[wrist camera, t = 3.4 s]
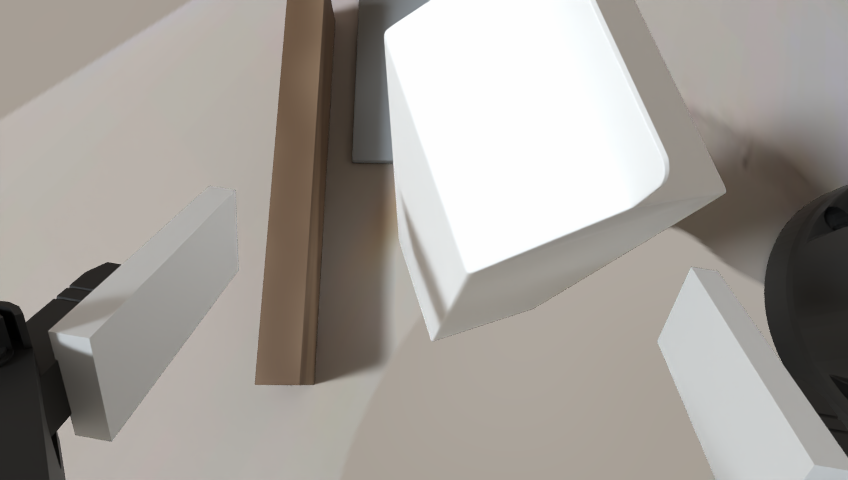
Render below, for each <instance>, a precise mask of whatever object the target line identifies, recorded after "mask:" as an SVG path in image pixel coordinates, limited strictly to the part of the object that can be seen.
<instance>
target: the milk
mask: <svg viewBox="0 0 848 480" xmlns="http://www.w3.org/2000/svg"><path fill="white" fill-rule="evenodd" d="M384 44H385V57H386V71H387V84H388V98H389V111H390V125H391V138H392V152H393V165H394V179H395V192H396V206H397V219H398V233H399V242H400V245H401V248H402V251H403V255H404V258H405V261H406V264H407V267H408V270H409V273H410V276H411V280H412V283H413V286H414V289H415V292H416V295H417V298H418V301H419V304H420V308H421V311H422V314H423V317H424V320H425V323H426V326H427V329H428V332H429V335H430V339H431V341H436V340H439V339H442V338H445V337H448V336H451V335H454V334H458V333H460V332H464V331H466V330H470V329H473V328H476V327H479V326H482V325H485V324H488V323H491V322H494V321H497V320H500V319H503V318H507V317H510V316H513V315H515V314H519V313H522V312H525V311H528V310H531V309H534V308H535V307H537V306H539V305H540V304H542V303H544V302H545V301H547V300H549V299H550V298H552V297H554V296H555V295H557V294H559V293H560V292H562V291H564V290H565V289H567V288H569V287H570V286H572V285H574V284H575V283H577V282H579V281H580V280H582V279H584V278H585V277H587V276H589V275H590V274H592V273H594V272H595V271H597V270H599V269H600V268H602V267H604V266H605V265H607V264H609V263H610V262H612V261H614V260H615V259H617V258H619V257H620V256H622V255H624V254H625V253H627V252H629V251H630V250H632V249H634V248H636V247H637V246H639V245H640V244H642V243H644V242H646V241H647V240H649V239H650V238H652V237H654V236H656V235H657V234H659V233H661V232H662V231H664V230H666V229H667V228H669V227H671V226H672V225H674V224H676V223H677V222H679V221H681V220H682V219H684V218H686V217H687V216H689V215H691V214H692V213H694V212H696V211H697V210H699V209H701V208H702V207H704V206H706V205H707V204H709V203H711V202H712V201H714V200H716V199H717V198H719V197H721V196H722V195H724V194H725V193H726V188H725V186H724V183H723V181H722V179H721V177H720V175H719V173H718V171H717V169H716V167H715V165H714V163H713V161H712V159H711V157H710V155H709V152H708V150H707V148H706V146H705V144H704V142H703V140H702V138H701V136H700V134H699V132H698V130H697V128H696V126H695V124H694V122H693V120H692V117H691V115H690V113H689V111H688V109H687V107H686V105H685V103H684V101H683V99H682V97H681V95H680V93H679V91H678V89H677V87H676V84H675V82H674V80H673V78H672V76H671V74H670V72H669V70H668V68H667V66H666V64H665V62H664V60H663V58H662V56H661V54H660V52H659V49H658V47H657V45H656V43H655V41H654V39H653V37H652V35H651V33H650V31H649V29H648V27H647V25H646V23H645V21H644V19H643V16H642V14H641V12H640V10H639V8H638V6H637V4H636V2H635V0H430V1H428V2H427V3H425V4H424V5H422V6H421V7H419V8H418V9H416V10H415V11H413V12H412V13H410V14H409V15H407V16H406V17H404V18H403V19H401V20H400V21H398V22H397V23H395V24H394V25H392V26H391V27H390V28H388V29H387V30H386V31H385V34H384Z"/></svg>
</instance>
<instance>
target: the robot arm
mask: <svg viewBox="0 0 848 480" xmlns="http://www.w3.org/2000/svg"><path fill="white" fill-rule="evenodd" d="M238 270H239V265H238V239H237V213H236V190H233V189H227V188H221V187H215V186H208V187H207V188H206V189H205V190H204V191H203V192H202V193H201V194H200V195H198V196H197V197H196V198H195V199H194V200H193V201H192V202H191V203H190V204H188V205H187V206H186V207H185V208H184V209H183V210H182V211H181V212H180V213H178V214H177V215H176V216H175V217H174V218H173V219H172V220H171V221H170V222H168V223H167V224H166V225H165V226H164V227H163V228H162V229H161V230H160V231H158V232H157V233H156V234H155V235H154V236H153V237H152V238H151V239H150V240H149V241H147V242H146V243H145V244H144V245H143V246H142V247H141V248H140V249H139V250H137V251H136V252H135V253H134V254H133V255H132V256H131V257H130V258H129V259H127V260H126V261H125V262H124V263H123V264H122V265H121V264H115V263H109V262H107V263H105V264H102V265H100V266H98V267H96V268H94V269H91V270H89V271H87V272H85V273H84V274H83V275H82V276H80V277H79V278H78V279H77V280H76V281H74V282H73V283H72V284H71V285H70V287H69V288H66V289H65V290H64V291H62V292H61V293H60V294H59V295H58V296H57V299H53V300H52V301H51V302H49V303H48V304H47V305H46V306H45V307H43V308H42V309H41V310H40V311H39V312H37V313H36V314H35V315H34V316H33V317H31V318H30V319H29V320H28V321H27V322H25V319H24V315H23V313H22V311H21V309H20V308H19V306H17V305H15V304H12V303H10V302H5V301H0V480H65V473H64V467H63V460H62V453H61V447H60V441H59V437H58V434H57V430H58V429H59V428H60V427H61V425H62V424H63V423H64V422H65V421H66V420H67V418H68V417H69V416H70V417H71V420H72V424H73V428H74V432H75V435H78V436H83V437H89V438H95V439H100V440H106V441H111V442H112V440H113V439H114V438H115V436H116V435H117V434H118V432H119V431H120V430H121V428H122V427H123V426H124V424H125V423H126V421H127V420H128V419H129V417H130V416H131V415H132V413H133V412H134V411H135V409H136V408H137V407H138V405H139V404H140V403H141V401H142V400H143V399H144V397H145V396H146V394H147V393H148V392H149V390H150V389H151V388H152V386H153V385H154V384H155V382H156V381H157V380H158V378H159V377H160V376H161V374H162V373H163V372H164V370H165V369H166V367H167V366H168V365H169V363H170V362H171V361H172V359H173V358H174V357H175V355H176V354H177V353H178V351H179V350H180V349H181V347H182V346H183V344H184V343H185V342H186V340H187V339H188V338H189V336H190V335H191V334H192V332H193V331H194V330H195V328H196V327H197V326H198V324H199V323H200V322H201V320H202V319H203V317H204V316H205V315H206V313H207V312H208V311H209V309H210V308H211V307H212V305H213V304H214V303H215V301H216V300H217V299H218V297H219V296H220V294H221V293H222V292H223V290H224V289H225V288H226V286H227V285H228V284H229V282H230V281H231V280H232V278H233V277H234V276H235V274H236V273H237V272H238ZM764 291H765V292H764V295H765V309H766V316H767V321H768V325H769V329H770V333H771V336H772V339H773V342H774V345H775V347H776V350H777V352H778V355H779V357H780V358H781V361H782V362H781V361H780V359H779V358H778V357H777V355H776V354H775V352H774V351H773V349H772V348H771V347H770V345H769V344H768V342H767V341H766V339H765V338H764V336H763V335H762V334H761V332H760V331H759V329H758V328H757V326H756V325H755V324H754V322H753V321H752V319H751V318H750V316H749V315H748V313H747V312H746V311H745V309H744V308H743V306H742V305H741V303H740V302H739V301H738V299H737V298H736V296H735V295H734V293H733V292H732V291H731V289H730V288H729V286H728V285H727V283H726V282H725V280H724V279H723V278H722V276H721V275H720V273H719V272H718V271H714V270H708V269H702V268H696V267H691V268H690V270H689V272H688V274H687V277H686V279H685V281H684V283H683V286H682V288H681V290H680V292H679V294H678V297H677V299H676V301H675V303H674V305H673V307H672V310H671V312H670V314H669V316H668V319H667V321H666V323H665V325H664V327H663V330H662V332H661V334H660V336H659V338H658V341H657V342H658V345H659V347H660V349H661V352H662V354H663V356H664V359H665V361H666V363H667V366H668V368H669V370H670V373H671V375H672V377H673V380H674V382H675V385H676V387H677V389H678V392H679V394H680V397H681V399H682V401H683V404H684V406H685V408H686V411H687V413H688V415H689V418H690V420H691V423H692V425H693V427H694V430H695V432H696V434H697V437H698V439H699V441H700V444H701V446H702V448H703V451H704V453H705V456H706V458H707V460H708V462H709V465H710V467H711V470H712V472H713V474H714V477H715V479H716V480H848V185H845V186H843V187H841V188H839V189H836V190H834V191H832V192H830V193H828V194H825V195H823V196H821V197H819V198H817V199H815V200H813V201H812V202H810V203H809V204H807V205H806V206H805V207H803V208H802V209H801V210H800V211H798V212H797V213H796V214H795V215H794V216H793V217H792V218H791V220H790V221H789V222H788V223H787V224H786V226H785V227H784V228H783V230H782V231H781V233H780V235H779V236H778V238H777V240H776V242H775V244H774V246H773V249H772V251H771V254H770V257H769V261H768V265H767V270H766V276H765V289H764ZM782 363H783V364H782Z"/></svg>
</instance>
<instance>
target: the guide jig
mask: <svg viewBox="0 0 848 480" xmlns="http://www.w3.org/2000/svg"><path fill="white" fill-rule="evenodd" d="M428 1H430V0H359V18H358V40H357V63H356V85H355V108H354V130H353V153H352V161H353V163H393V152H392V138H391V125H390V111H389V98H388V84H387V71H386V57H385V44H384V34H385V31H386V30H387V29H388V28H390V27H391V26H392V25H394V24H395V23H397V22H398V21H400V20H401V19H403V18H404V17H406V16H407V15H409V14H410V13H412V12H413V11H415V10H416V9H418V8H419V7H421V6H422V5H424V4H425V3H427V2H428ZM334 31H335V18H334V13H333V8H332V3H331V0H287V6H286V18H285V30H284V42H283V54H282V66H281V78H280V90H279V102H278V114H277V126H276V137H275V149H274V161H273V173H272V185H271V197H270V209H269V221H268V233H267V245H266V257H265V269H264V281H263V292H262V304H261V316H260V328H259V340H258V352H257V364H256V376H255V385H314V381H315V364H316V346H317V329H318V311H319V294H320V276H321V259H322V241H323V224H324V206H325V189H326V171H327V154H328V136H329V119H330V101H331V83H332V66H333V48H334Z"/></svg>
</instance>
